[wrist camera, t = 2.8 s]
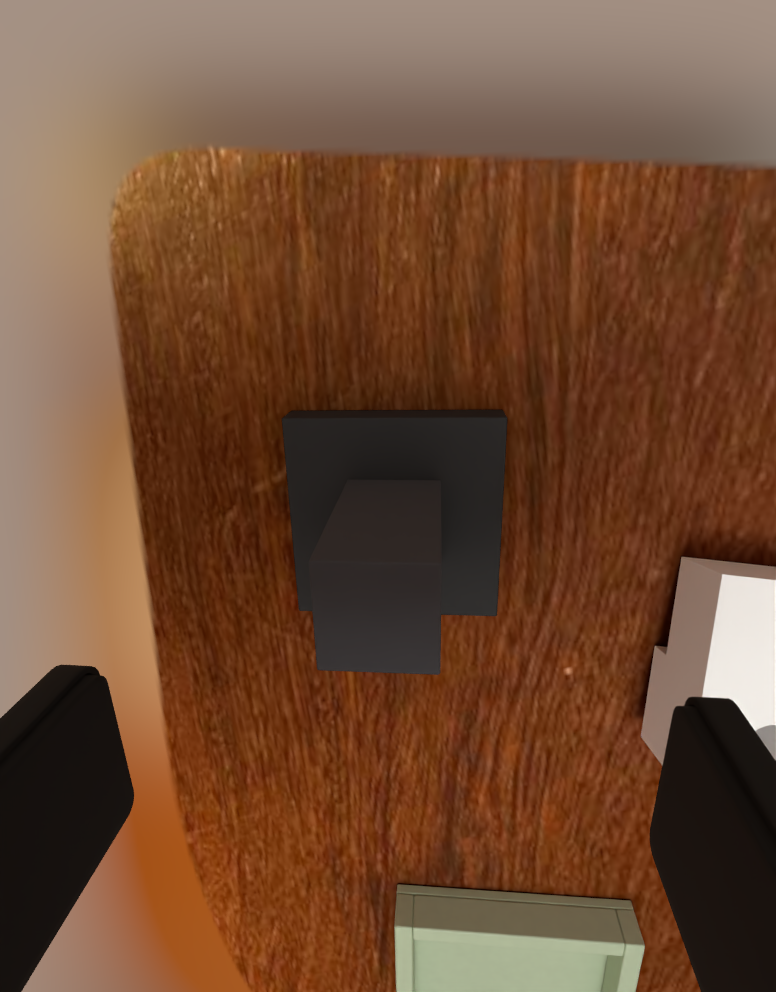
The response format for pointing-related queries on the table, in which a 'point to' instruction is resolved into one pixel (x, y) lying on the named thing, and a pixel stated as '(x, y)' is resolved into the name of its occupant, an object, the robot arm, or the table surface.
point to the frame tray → (513, 942)
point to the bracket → (717, 648)
